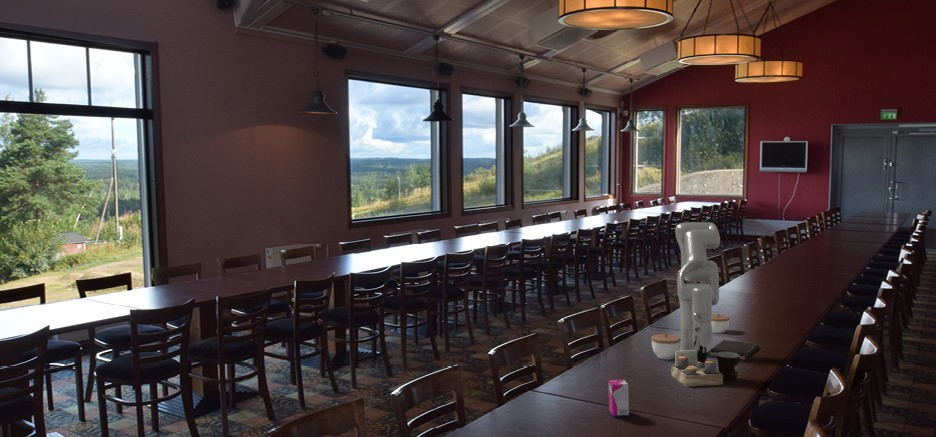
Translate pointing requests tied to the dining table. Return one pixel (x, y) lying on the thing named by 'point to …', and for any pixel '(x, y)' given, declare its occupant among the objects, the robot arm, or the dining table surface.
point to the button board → (696, 377)
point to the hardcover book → (735, 348)
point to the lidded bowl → (665, 345)
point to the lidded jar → (719, 323)
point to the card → (690, 354)
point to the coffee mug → (728, 365)
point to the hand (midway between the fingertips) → (701, 361)
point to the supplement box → (618, 398)
